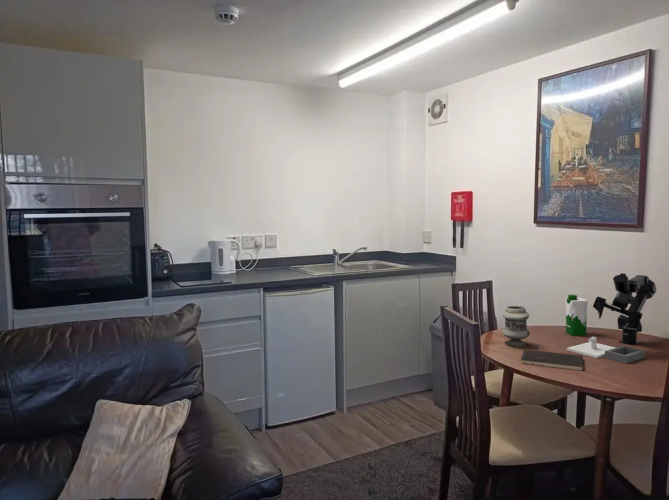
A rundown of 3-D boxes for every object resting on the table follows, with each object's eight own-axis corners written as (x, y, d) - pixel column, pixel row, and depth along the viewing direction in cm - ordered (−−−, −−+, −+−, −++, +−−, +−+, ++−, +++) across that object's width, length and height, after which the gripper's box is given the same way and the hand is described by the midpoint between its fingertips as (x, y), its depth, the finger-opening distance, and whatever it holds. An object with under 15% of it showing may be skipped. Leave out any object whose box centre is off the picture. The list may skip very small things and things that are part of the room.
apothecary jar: (499, 340, 230) (499, 304, 229) (523, 340, 230) (524, 304, 228) (507, 347, 218) (507, 309, 216) (533, 347, 218) (533, 309, 216)
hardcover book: (582, 372, 186) (582, 366, 186) (520, 364, 196) (520, 359, 196) (582, 360, 200) (582, 355, 200) (524, 353, 211) (524, 348, 210)
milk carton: (562, 331, 243) (563, 293, 241) (580, 331, 243) (581, 293, 241) (571, 336, 234) (572, 297, 233) (589, 336, 234) (590, 296, 232)
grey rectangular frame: (623, 352, 208) (623, 345, 207) (644, 357, 200) (645, 350, 199) (604, 357, 201) (604, 351, 200) (626, 363, 193) (626, 356, 193)
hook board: (590, 343, 222) (591, 331, 221) (620, 351, 209) (621, 337, 209) (566, 350, 213) (567, 337, 212) (597, 358, 201) (597, 344, 200)
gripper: (604, 279, 211) (592, 302, 204) (651, 296, 202) (640, 320, 194) (598, 295, 219) (586, 317, 211) (643, 312, 209) (632, 336, 201)
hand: (611, 322), depth 204 cm, fingers open, 9 cm apart
